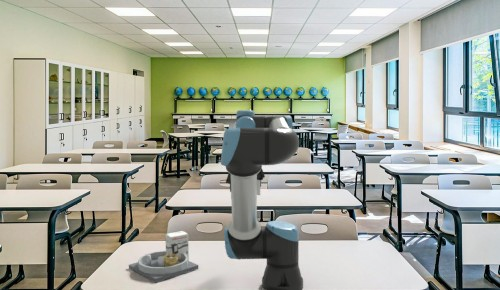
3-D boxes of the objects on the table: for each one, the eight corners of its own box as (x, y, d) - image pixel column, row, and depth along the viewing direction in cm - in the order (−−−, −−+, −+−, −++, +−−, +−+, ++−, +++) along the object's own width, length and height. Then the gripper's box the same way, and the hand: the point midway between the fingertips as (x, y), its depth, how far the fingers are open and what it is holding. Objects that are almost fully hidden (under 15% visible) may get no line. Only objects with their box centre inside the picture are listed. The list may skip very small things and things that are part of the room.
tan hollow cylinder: (180, 268, 183) (180, 256, 183) (169, 272, 180) (168, 259, 179) (172, 265, 187) (172, 253, 187) (161, 268, 183) (161, 256, 183)
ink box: (170, 264, 191) (169, 236, 190) (165, 261, 195) (165, 233, 194) (189, 260, 196) (188, 233, 194) (184, 257, 200) (183, 230, 199)
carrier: (198, 268, 187) (198, 254, 186) (155, 282, 173) (155, 267, 173) (170, 256, 201) (170, 242, 201) (128, 268, 188) (128, 254, 187)
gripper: (260, 144, 204) (260, 191, 207) (216, 149, 187) (217, 200, 190) (272, 145, 199) (272, 194, 201) (229, 150, 182) (229, 203, 184)
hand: (246, 197), depth 196 cm, fingers open, 13 cm apart
